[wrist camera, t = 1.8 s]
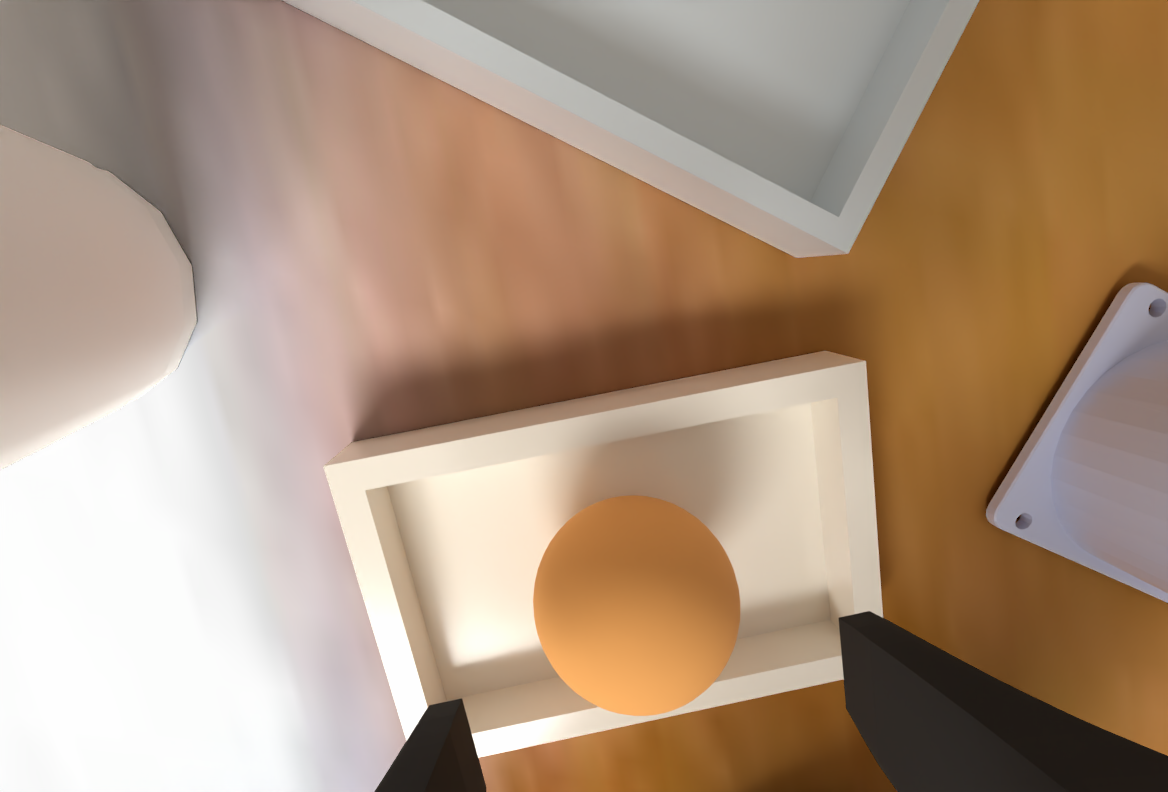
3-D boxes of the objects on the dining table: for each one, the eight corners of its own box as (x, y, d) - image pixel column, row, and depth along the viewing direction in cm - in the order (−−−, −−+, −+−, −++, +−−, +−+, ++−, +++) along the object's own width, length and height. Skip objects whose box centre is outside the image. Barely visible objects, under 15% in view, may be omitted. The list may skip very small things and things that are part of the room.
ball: (734, 505, 16) (819, 606, 11) (660, 647, 17) (708, 799, 12) (577, 440, 15) (594, 518, 10) (507, 593, 16) (491, 731, 11)
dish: (825, 350, 16) (866, 360, 14) (848, 626, 18) (886, 670, 16) (351, 442, 15) (323, 466, 13) (430, 714, 17) (415, 770, 15)
